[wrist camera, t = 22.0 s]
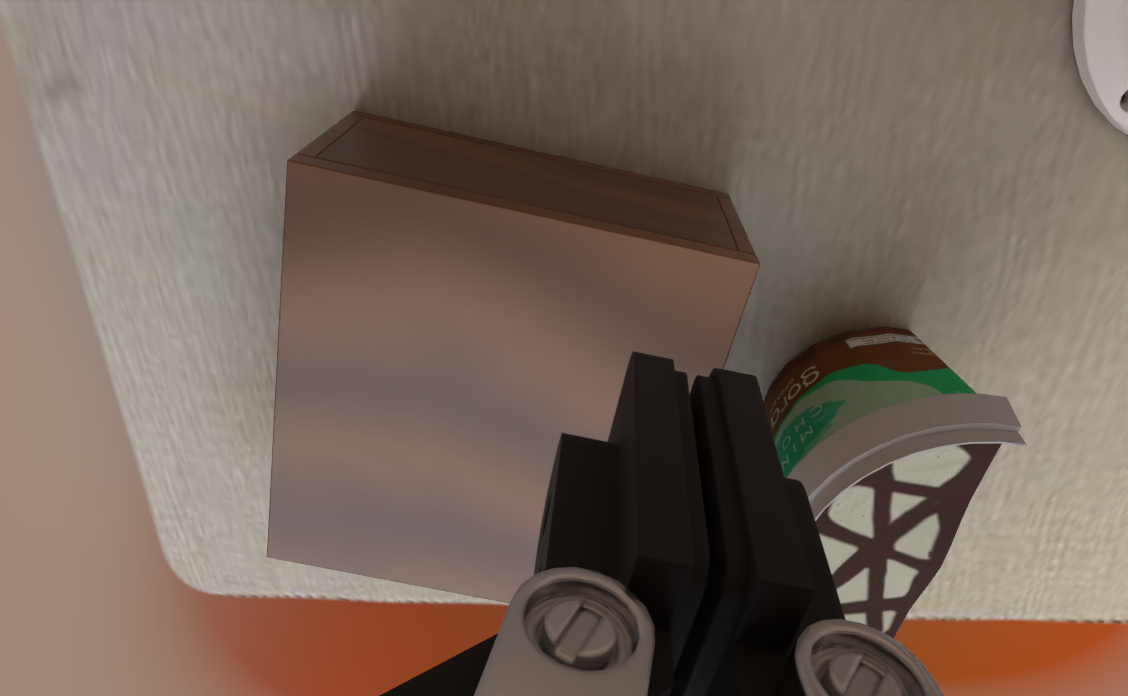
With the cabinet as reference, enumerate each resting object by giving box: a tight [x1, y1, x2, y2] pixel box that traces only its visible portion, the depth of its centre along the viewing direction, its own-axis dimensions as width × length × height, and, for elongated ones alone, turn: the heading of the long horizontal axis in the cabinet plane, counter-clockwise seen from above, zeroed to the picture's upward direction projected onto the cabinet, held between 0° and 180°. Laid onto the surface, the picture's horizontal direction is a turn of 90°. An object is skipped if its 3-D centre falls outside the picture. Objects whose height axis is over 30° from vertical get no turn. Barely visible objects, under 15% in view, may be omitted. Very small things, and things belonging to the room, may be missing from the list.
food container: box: [764, 327, 1027, 639], centre depth 33 cm, size 12×6×10 cm, turn 169°
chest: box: [297, 111, 755, 255], centre depth 33 cm, size 16×15×7 cm
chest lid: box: [267, 154, 760, 603], centre depth 30 cm, size 17×15×1 cm
